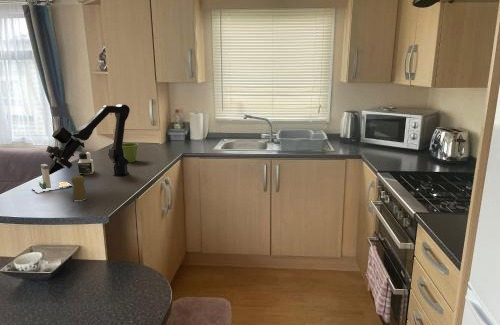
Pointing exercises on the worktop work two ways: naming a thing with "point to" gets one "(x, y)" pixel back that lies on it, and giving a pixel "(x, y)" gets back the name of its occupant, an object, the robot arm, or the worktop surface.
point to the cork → (78, 188)
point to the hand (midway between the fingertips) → (48, 174)
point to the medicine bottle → (85, 163)
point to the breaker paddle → (45, 175)
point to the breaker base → (62, 184)
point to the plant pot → (130, 151)
